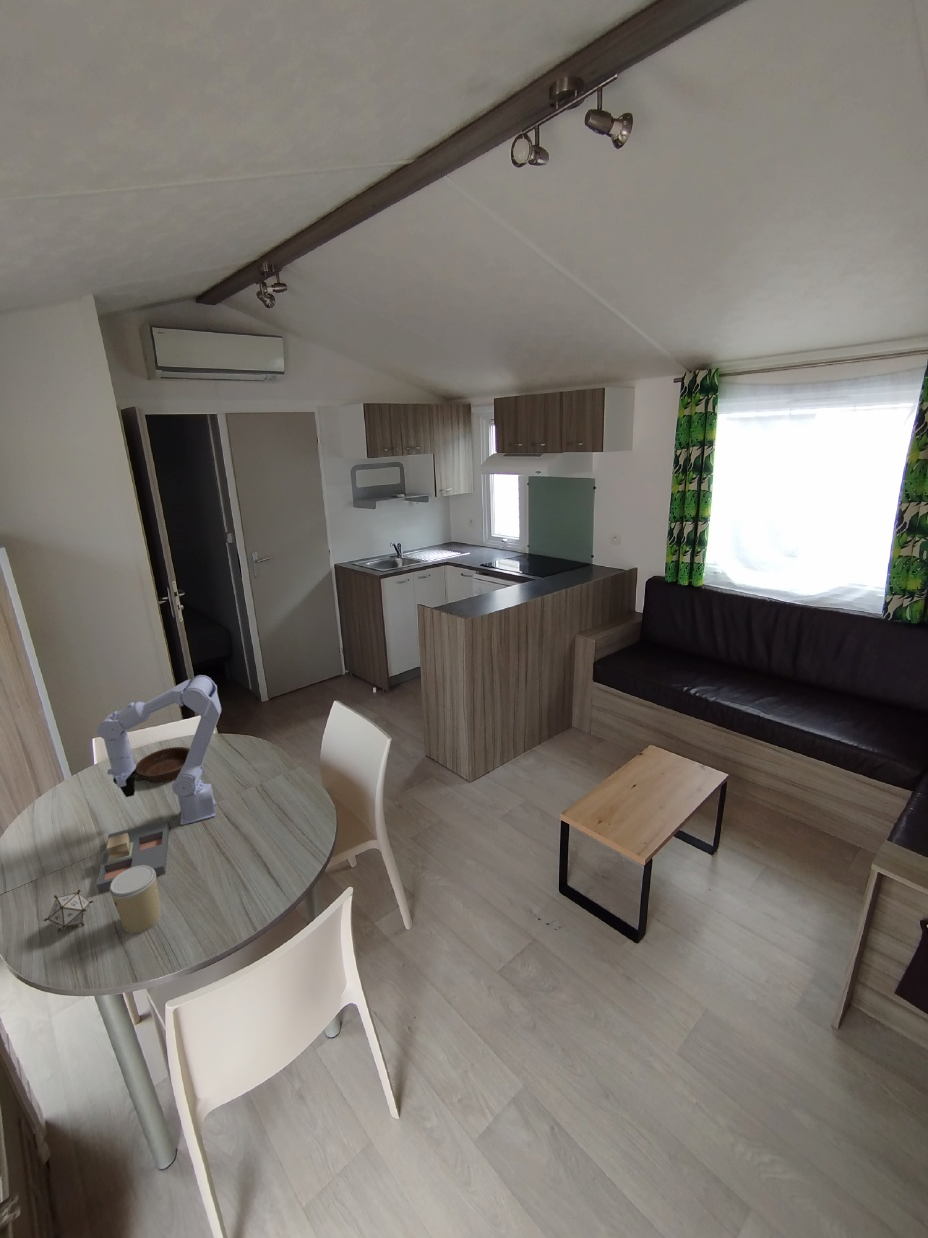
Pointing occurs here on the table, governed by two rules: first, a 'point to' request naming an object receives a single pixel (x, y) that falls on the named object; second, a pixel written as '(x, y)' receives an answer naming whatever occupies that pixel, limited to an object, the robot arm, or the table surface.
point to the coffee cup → (136, 898)
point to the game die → (68, 910)
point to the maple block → (118, 846)
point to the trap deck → (137, 852)
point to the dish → (162, 765)
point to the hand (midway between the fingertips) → (130, 795)
